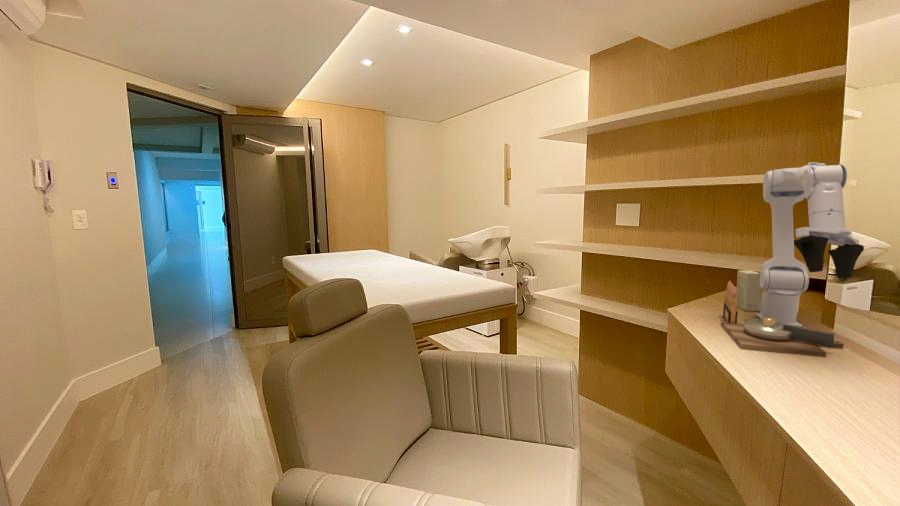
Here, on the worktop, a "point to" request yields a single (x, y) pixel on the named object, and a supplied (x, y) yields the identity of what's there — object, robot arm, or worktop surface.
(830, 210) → the robot arm
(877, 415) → the worktop surface
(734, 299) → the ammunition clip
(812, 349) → the walnut stand
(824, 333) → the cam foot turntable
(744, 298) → the skincare box
